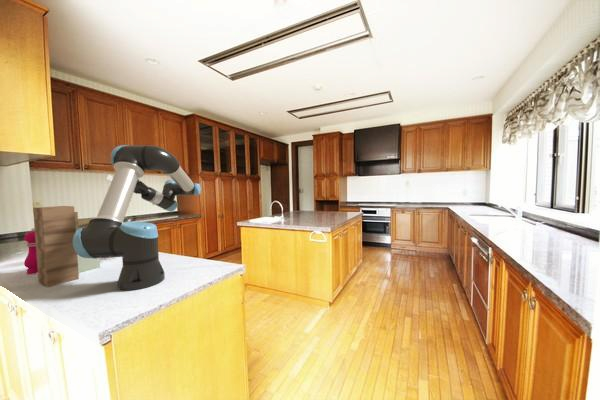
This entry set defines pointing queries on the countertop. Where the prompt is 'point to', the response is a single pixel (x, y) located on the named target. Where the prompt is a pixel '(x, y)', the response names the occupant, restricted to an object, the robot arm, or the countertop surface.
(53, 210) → the walnut post
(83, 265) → the sage box
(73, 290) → the countertop surface
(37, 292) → the countertop surface
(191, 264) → the countertop surface
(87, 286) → the countertop surface
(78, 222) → the tan tall block
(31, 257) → the pepper mill
